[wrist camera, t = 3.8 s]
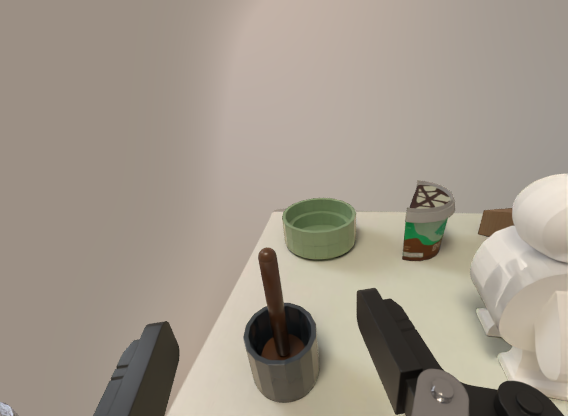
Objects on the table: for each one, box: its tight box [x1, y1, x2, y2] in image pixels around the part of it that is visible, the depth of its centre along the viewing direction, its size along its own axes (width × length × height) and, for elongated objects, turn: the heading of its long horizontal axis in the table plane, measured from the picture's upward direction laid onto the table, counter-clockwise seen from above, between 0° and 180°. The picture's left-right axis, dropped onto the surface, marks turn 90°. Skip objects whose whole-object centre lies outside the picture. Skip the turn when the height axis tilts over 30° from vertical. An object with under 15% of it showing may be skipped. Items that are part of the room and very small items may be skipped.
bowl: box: [282, 198, 356, 259], centre depth 51 cm, size 13×13×6 cm
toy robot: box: [470, 174, 568, 401], centre depth 25 cm, size 14×9×20 cm, turn 166°
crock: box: [244, 303, 319, 403], centre depth 29 cm, size 7×7×6 cm
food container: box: [402, 181, 455, 261], centre depth 44 cm, size 12×6×10 cm, turn 149°
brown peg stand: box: [258, 248, 305, 360], centre depth 27 cm, size 5×5×16 cm
